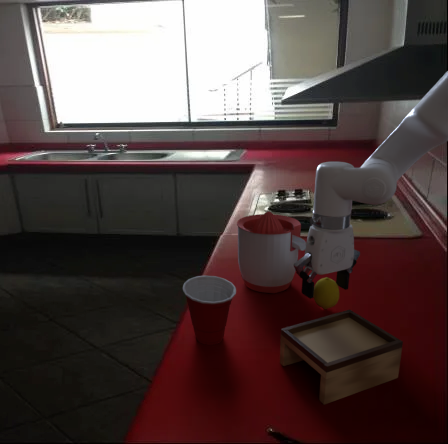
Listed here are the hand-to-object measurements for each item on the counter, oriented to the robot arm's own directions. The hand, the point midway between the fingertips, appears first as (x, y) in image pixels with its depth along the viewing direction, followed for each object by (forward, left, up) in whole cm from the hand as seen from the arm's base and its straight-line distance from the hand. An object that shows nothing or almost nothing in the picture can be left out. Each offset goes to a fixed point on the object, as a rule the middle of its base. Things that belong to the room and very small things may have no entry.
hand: (324, 291), depth 95 cm
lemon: (0, 0, -5) cm, 5 cm away
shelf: (+13, +18, -5) cm, 23 cm away
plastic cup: (+29, -1, -5) cm, 29 cm away
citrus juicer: (+4, -16, -5) cm, 17 cm away
